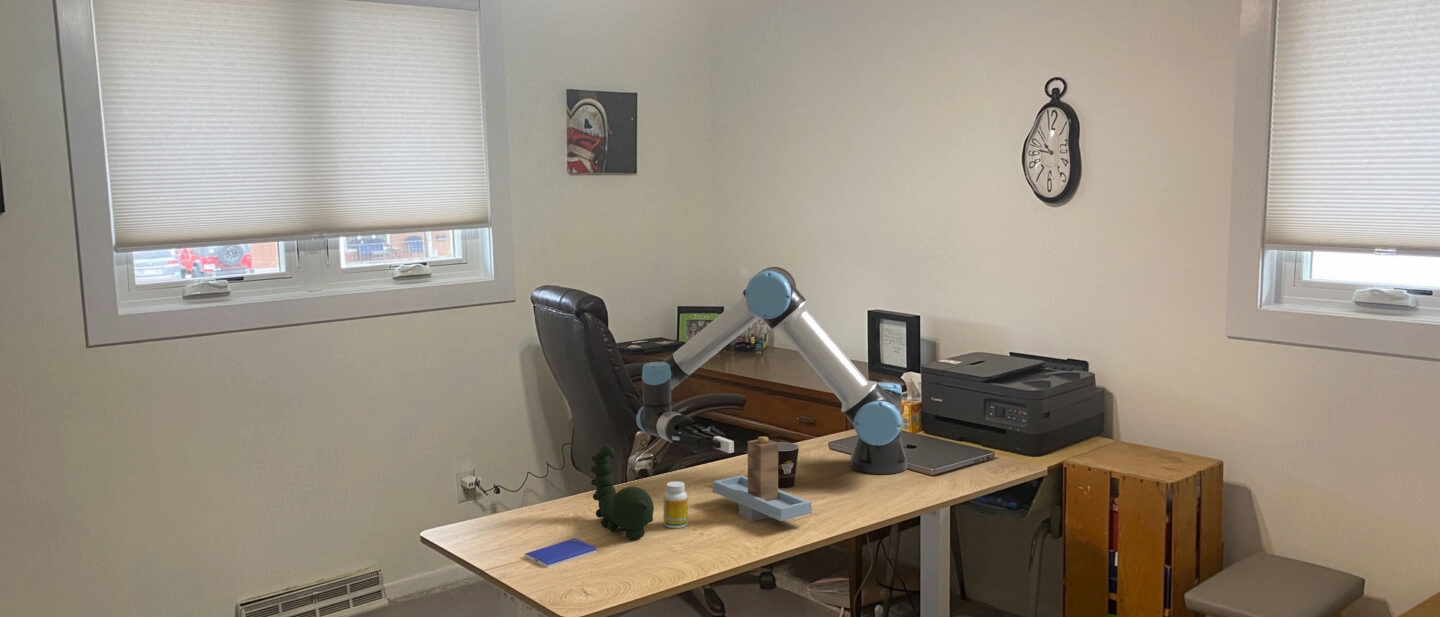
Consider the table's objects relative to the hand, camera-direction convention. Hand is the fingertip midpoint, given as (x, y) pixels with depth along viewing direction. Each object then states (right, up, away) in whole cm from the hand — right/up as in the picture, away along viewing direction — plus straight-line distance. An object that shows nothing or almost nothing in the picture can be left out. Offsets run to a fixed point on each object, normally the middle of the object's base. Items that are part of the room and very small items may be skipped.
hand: (731, 447), depth 247 cm
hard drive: (-36, -19, -32) cm, 52 cm away
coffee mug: (+12, -12, +16) cm, 23 cm away
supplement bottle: (-13, -16, -14) cm, 25 cm away
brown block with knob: (+7, -10, -9) cm, 15 cm away
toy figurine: (-24, -16, -17) cm, 34 cm away
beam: (+7, -15, -7) cm, 18 cm away
